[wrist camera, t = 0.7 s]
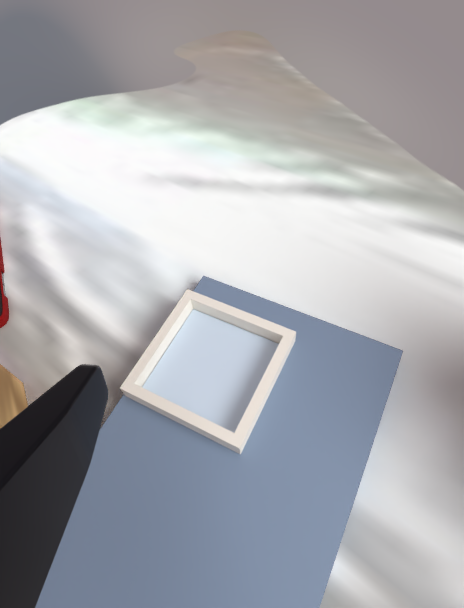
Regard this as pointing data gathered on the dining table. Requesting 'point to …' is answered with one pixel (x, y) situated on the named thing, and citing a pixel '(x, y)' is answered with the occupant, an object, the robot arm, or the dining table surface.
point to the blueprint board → (225, 462)
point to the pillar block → (10, 396)
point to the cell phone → (3, 294)
